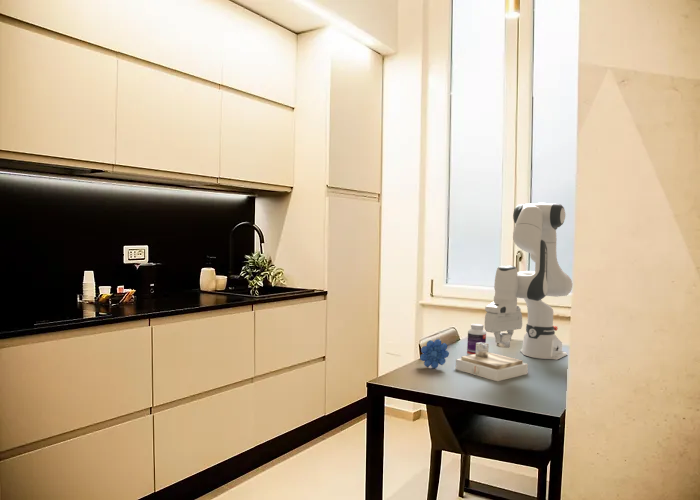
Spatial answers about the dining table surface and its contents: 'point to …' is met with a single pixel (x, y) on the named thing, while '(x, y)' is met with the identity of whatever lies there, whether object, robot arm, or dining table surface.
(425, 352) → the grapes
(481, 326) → the pill bottle
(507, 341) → the block
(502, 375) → the base
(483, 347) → the block
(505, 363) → the pan
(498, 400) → the dining table surface
